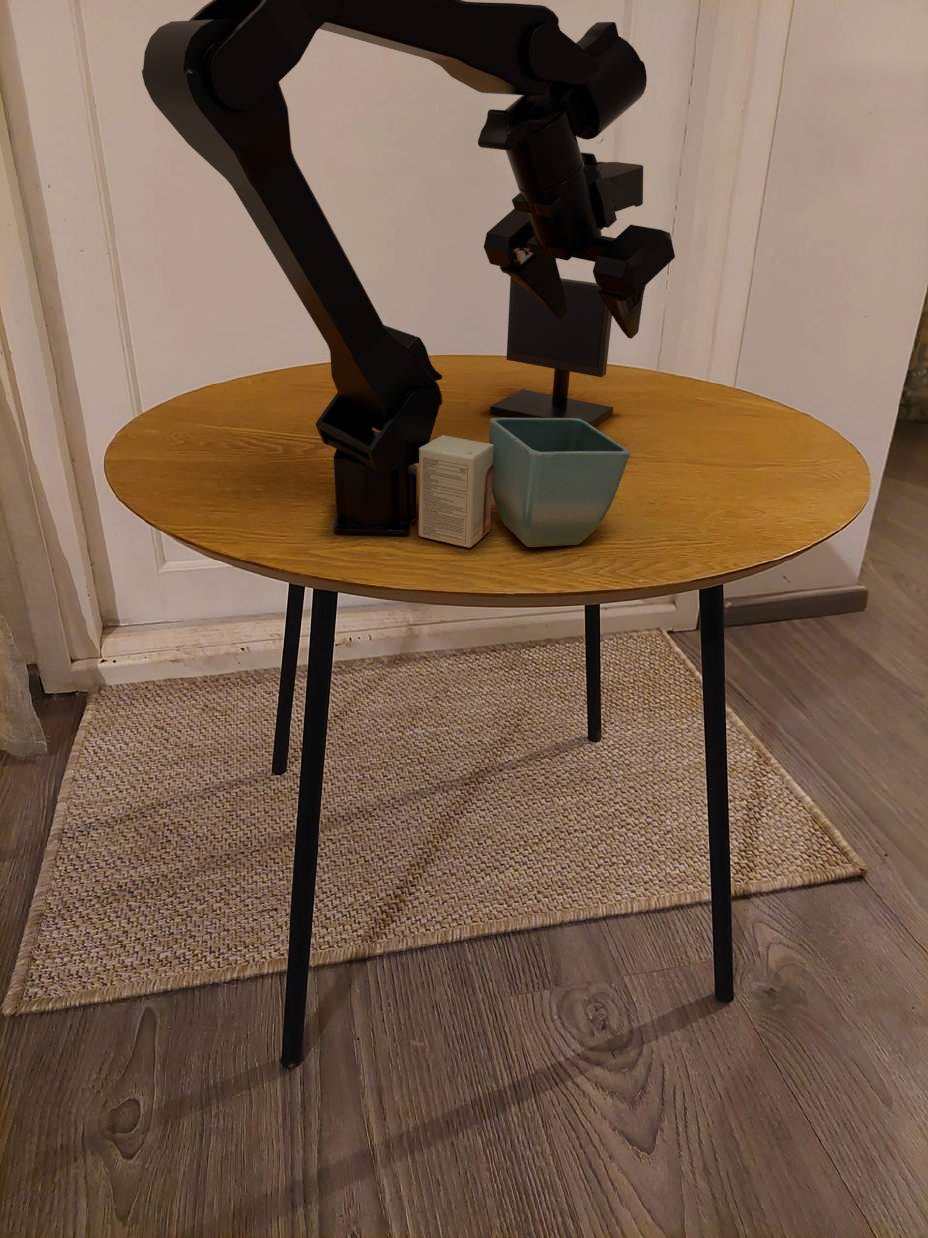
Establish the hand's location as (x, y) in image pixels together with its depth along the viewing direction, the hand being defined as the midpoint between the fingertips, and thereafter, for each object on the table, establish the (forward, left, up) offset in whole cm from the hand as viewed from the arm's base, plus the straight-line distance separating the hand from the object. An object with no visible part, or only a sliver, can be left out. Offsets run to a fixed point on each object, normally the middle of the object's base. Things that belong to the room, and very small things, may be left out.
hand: (597, 325), depth 87 cm
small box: (-13, -19, -13) cm, 27 cm away
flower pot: (-6, -20, -13) cm, 24 cm away
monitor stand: (-2, +13, -13) cm, 19 cm away
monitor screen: (-2, +13, -8) cm, 16 cm away
